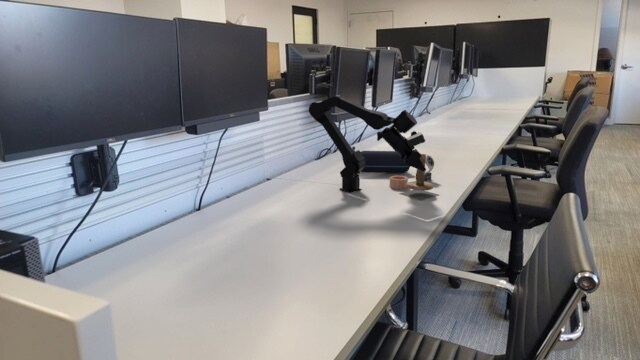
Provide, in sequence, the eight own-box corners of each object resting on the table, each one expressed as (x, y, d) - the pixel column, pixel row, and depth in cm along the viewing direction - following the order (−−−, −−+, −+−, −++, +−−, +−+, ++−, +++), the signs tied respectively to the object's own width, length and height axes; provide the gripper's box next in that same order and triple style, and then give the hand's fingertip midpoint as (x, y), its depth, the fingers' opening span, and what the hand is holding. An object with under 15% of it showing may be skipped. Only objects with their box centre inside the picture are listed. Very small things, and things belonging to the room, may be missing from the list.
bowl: (398, 190, 178) (399, 181, 177) (386, 187, 183) (386, 177, 182) (410, 187, 182) (411, 178, 181) (397, 184, 188) (398, 174, 187)
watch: (428, 182, 189) (430, 157, 186) (412, 179, 194) (413, 154, 192) (435, 180, 193) (436, 155, 190) (418, 177, 198) (420, 152, 195)
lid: (421, 192, 164) (423, 158, 161) (401, 186, 172) (402, 154, 169) (438, 187, 170) (441, 154, 167) (418, 181, 178) (419, 150, 175)
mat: (421, 201, 165) (421, 200, 165) (398, 194, 173) (398, 193, 173) (440, 195, 171) (440, 194, 171) (417, 189, 180) (417, 188, 180)
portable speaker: (408, 170, 211) (409, 149, 208) (411, 175, 201) (412, 153, 199) (355, 169, 213) (355, 148, 210) (354, 174, 203) (355, 153, 201)
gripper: (416, 129, 156) (446, 160, 159) (408, 121, 174) (435, 149, 177) (393, 151, 159) (423, 181, 161) (387, 141, 177) (414, 169, 179)
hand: (424, 169), depth 169 cm, fingers closed on lid, 3 cm apart
